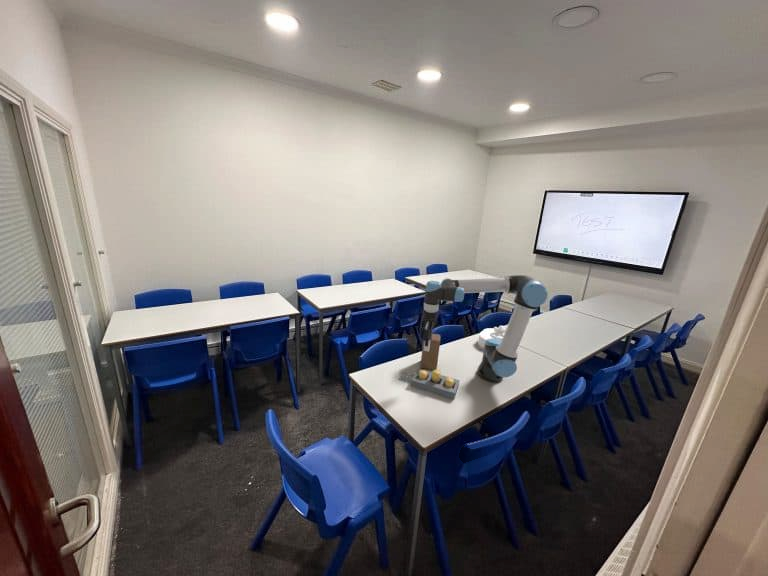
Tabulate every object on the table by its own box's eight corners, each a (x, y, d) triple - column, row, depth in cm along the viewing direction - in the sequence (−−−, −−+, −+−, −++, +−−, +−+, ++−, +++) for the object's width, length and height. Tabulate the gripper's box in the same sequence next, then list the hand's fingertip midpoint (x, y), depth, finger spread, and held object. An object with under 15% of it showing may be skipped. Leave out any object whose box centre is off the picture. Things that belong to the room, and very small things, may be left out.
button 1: (453, 386, 165) (454, 378, 163) (451, 391, 160) (453, 383, 159) (445, 384, 166) (446, 376, 165) (443, 388, 162) (444, 380, 161)
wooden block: (436, 371, 182) (440, 341, 176) (420, 368, 183) (423, 338, 177) (437, 362, 191) (440, 334, 185) (421, 360, 193) (424, 331, 187)
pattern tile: (414, 376, 174) (414, 375, 174) (410, 382, 168) (410, 381, 168) (403, 373, 177) (403, 372, 177) (399, 379, 171) (399, 378, 171)
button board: (458, 386, 168) (459, 380, 167) (454, 399, 156) (455, 393, 155) (417, 374, 177) (418, 368, 176) (410, 386, 165) (411, 380, 164)
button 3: (427, 379, 170) (428, 371, 169) (425, 383, 166) (425, 375, 165) (419, 376, 172) (420, 369, 170) (417, 380, 168) (418, 373, 166)
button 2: (440, 378, 167) (441, 371, 165) (438, 383, 162) (439, 375, 161) (432, 376, 168) (433, 368, 167) (430, 380, 164) (431, 372, 163)
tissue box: (486, 334, 236) (489, 315, 231) (519, 345, 222) (523, 325, 217) (474, 345, 217) (477, 325, 212) (509, 358, 203) (514, 336, 198)
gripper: (427, 305, 164) (423, 343, 171) (420, 312, 152) (416, 354, 159) (440, 307, 161) (436, 347, 168) (434, 315, 149) (429, 357, 156)
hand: (426, 350), depth 163 cm, fingers closed
